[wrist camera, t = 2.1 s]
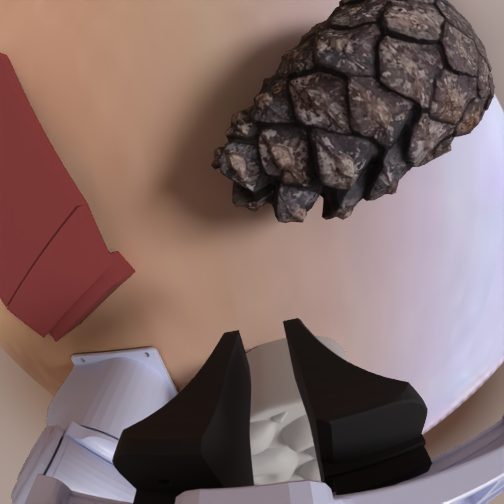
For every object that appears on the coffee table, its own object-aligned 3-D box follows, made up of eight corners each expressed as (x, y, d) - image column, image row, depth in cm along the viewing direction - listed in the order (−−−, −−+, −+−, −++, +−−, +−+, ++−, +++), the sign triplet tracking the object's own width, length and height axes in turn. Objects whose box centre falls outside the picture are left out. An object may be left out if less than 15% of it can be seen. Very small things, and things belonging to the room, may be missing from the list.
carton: (-29, 145, 20) (70, 333, 23) (-59, 144, 15) (39, 357, 18) (27, 58, 18) (154, 254, 21) (-4, 45, 13) (122, 272, 16)
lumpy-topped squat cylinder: (191, 395, 25) (177, 471, 17) (298, 307, 22) (323, 385, 14) (270, 439, 27) (275, 506, 19) (370, 370, 25) (404, 439, 16)
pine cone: (195, 160, 19) (148, 166, 9) (359, -2, 15) (419, -69, 5) (311, 258, 21) (358, 338, 12) (452, 95, 17) (544, 83, 8)
